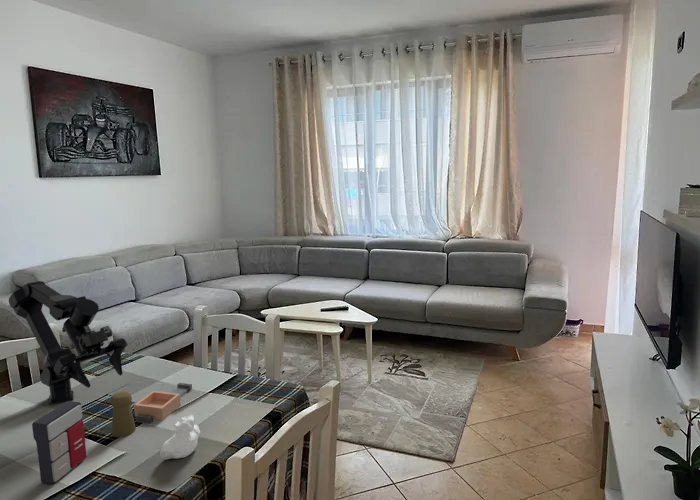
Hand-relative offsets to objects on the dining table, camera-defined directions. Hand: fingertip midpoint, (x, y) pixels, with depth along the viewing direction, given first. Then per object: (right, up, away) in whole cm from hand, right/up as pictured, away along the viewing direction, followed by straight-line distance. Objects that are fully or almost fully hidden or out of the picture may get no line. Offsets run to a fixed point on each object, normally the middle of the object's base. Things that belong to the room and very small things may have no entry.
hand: (105, 380), depth 135 cm
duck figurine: (+26, -15, -12) cm, 32 cm away
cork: (+6, -14, -2) cm, 15 cm away
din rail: (+12, -11, +13) cm, 21 cm away
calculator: (0, -17, -19) cm, 25 cm away
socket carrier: (+11, -11, +9) cm, 18 cm away
